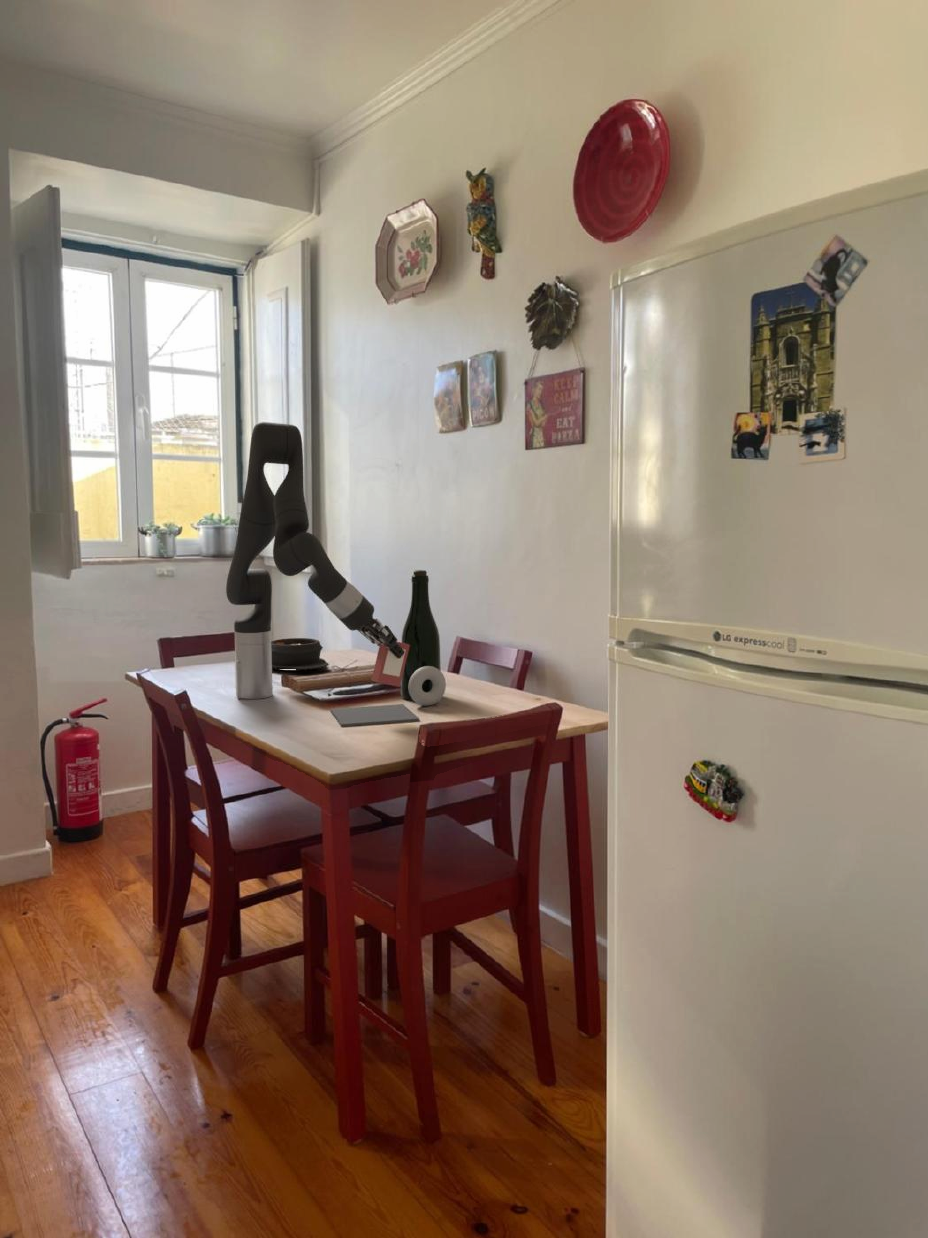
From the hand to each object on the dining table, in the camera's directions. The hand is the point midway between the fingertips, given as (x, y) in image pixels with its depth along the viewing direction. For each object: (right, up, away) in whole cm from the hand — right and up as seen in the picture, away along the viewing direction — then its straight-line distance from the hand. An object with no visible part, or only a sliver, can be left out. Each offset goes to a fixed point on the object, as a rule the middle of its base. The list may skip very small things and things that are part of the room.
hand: (397, 654), depth 207 cm
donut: (+6, -14, +16) cm, 22 cm away
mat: (-6, -15, +5) cm, 17 cm away
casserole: (-36, -7, +68) cm, 78 cm away
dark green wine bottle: (+4, -12, +26) cm, 29 cm away
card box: (-3, -7, -1) cm, 7 cm away
